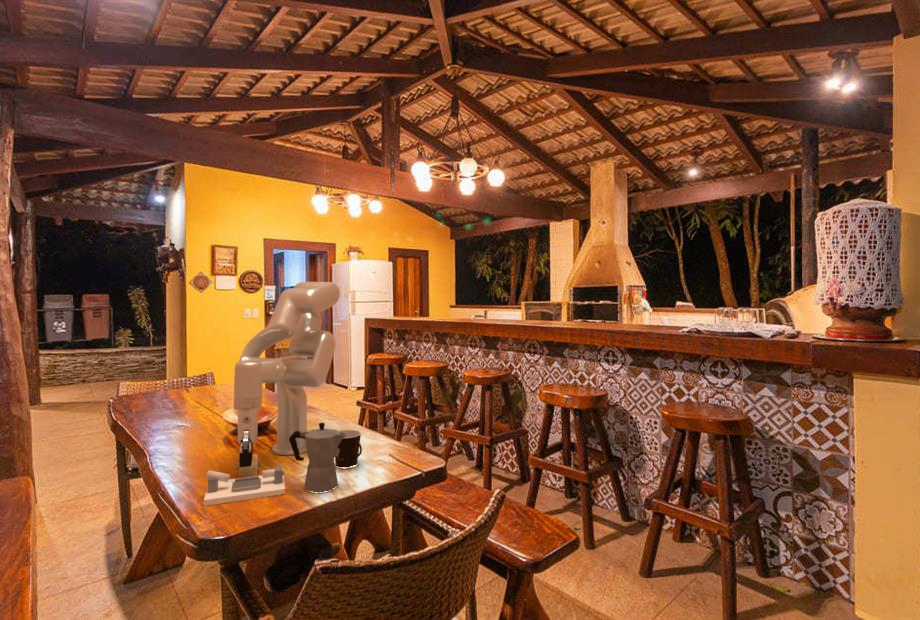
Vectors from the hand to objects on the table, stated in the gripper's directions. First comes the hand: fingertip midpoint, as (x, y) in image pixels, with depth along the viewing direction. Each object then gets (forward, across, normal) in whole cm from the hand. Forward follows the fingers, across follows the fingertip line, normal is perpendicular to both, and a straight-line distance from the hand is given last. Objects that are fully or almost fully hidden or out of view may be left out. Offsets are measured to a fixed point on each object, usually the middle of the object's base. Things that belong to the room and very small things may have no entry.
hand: (246, 461), depth 135 cm
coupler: (+4, +1, -1) cm, 4 cm away
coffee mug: (+4, -4, -29) cm, 29 cm away
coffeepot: (+4, -16, -19) cm, 25 cm away
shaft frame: (+4, -12, -1) cm, 13 cm away
